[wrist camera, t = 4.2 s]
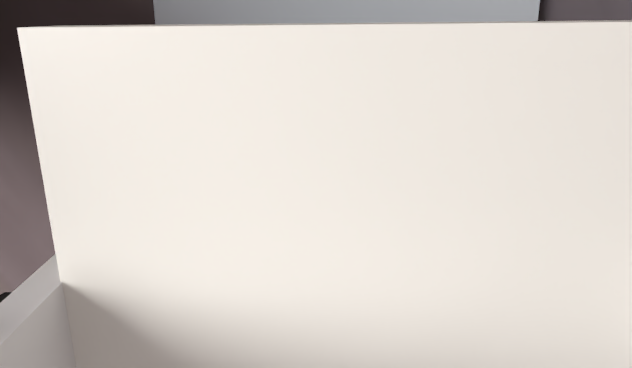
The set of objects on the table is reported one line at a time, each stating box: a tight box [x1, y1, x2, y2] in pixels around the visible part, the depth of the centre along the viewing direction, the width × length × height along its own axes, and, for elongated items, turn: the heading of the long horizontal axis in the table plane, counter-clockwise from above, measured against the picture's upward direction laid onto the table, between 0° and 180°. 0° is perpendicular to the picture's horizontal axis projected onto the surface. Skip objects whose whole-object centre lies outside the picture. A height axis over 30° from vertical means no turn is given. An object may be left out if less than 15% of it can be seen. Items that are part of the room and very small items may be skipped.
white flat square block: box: [17, 20, 632, 368], centre depth 11 cm, size 12×12×2 cm
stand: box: [153, 0, 540, 25], centre depth 19 cm, size 16×14×6 cm
